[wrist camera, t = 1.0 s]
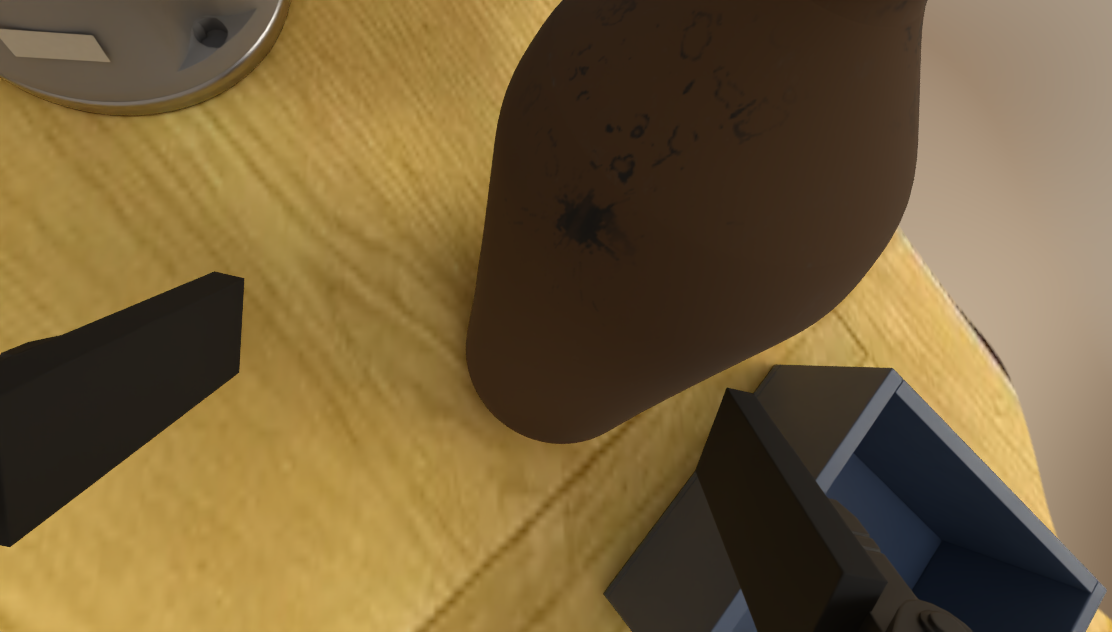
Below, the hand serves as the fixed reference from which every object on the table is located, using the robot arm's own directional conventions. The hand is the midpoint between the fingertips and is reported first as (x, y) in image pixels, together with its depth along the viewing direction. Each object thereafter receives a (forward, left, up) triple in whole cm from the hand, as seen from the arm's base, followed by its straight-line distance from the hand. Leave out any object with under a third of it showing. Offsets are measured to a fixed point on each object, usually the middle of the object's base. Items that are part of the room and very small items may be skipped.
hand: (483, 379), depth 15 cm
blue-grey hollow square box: (+13, +19, -14) cm, 27 cm away
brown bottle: (0, +5, -13) cm, 14 cm away
